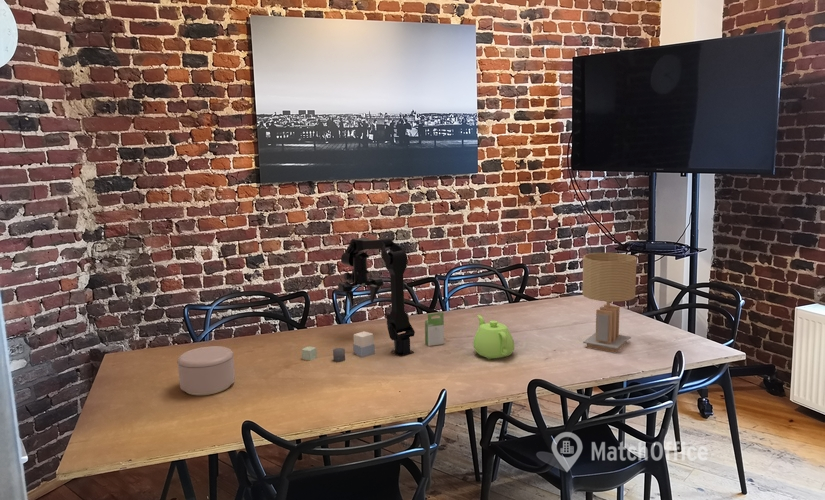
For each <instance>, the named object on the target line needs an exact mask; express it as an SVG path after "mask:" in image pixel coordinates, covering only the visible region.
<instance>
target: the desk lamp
mask: <svg viewBox="0 0 825 500" xmlns="http://www.w3.org/2000/svg"><path fill="white" fill-rule="evenodd" d="M637 261H638V257H636V256H635V255H631V254H627V253H618V252H592V253H587V254H585V255H583V257H582V288H581V289H582V296H583V297H584V298H587V299H589V300H594V301H595V300H596V301H600V302H606V304H603V306H601V307H599V309H596V313H595V315H596V316H595V333H593V334H592V335H590V336H589V337H588V338H586V339H584V340H583V341H582V343H583V344H586V348H588V349H589V348H590V349H595V350H601V351H605V352H610V353H617V352H618V351H619V350H620V349H622V348H623V347H624V346H625V345H626V344H627V343H628V342H629V340H630V339H631V338H632V336H628V335H622V334H620V309H621V306H618V305H611V302H617V303H618V302H628V301H631V300H634V299H635V298H636V290H637V289H636V285H637Z"/></svg>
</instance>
